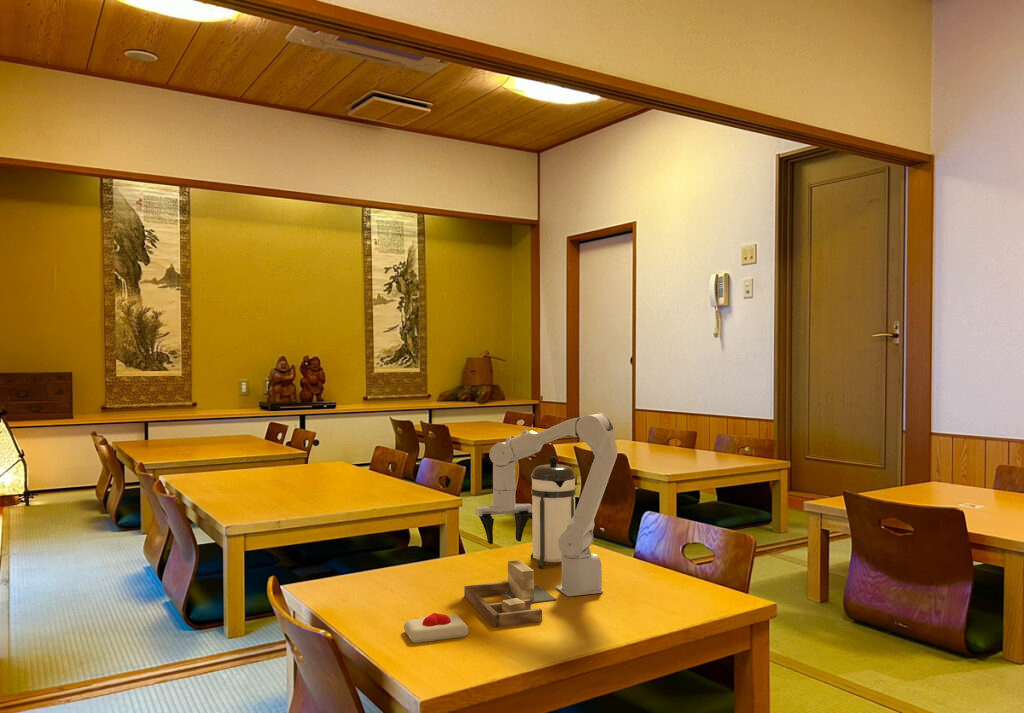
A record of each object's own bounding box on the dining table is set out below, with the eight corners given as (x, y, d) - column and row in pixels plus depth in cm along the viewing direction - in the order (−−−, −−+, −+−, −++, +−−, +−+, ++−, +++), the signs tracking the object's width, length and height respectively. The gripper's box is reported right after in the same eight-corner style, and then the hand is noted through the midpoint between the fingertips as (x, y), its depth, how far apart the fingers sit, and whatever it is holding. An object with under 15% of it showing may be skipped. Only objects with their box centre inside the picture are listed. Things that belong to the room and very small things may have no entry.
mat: (537, 586, 193) (537, 585, 193) (556, 600, 182) (556, 599, 182) (503, 590, 190) (503, 588, 190) (520, 604, 179) (520, 603, 179)
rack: (507, 591, 189) (507, 581, 189) (542, 621, 167) (542, 609, 167) (464, 596, 185) (464, 586, 185) (494, 627, 164) (494, 615, 164)
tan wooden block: (519, 588, 191) (519, 560, 191) (534, 600, 181) (533, 570, 181) (508, 589, 190) (507, 561, 190) (522, 601, 180) (522, 571, 180)
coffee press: (592, 560, 218) (592, 455, 218) (560, 572, 206) (560, 460, 206) (543, 551, 229) (542, 450, 229) (509, 562, 216) (509, 456, 217)
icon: (456, 603, 168) (469, 617, 158) (456, 623, 167) (469, 638, 158) (401, 609, 163) (411, 624, 154) (401, 630, 163) (411, 646, 154)
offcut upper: (517, 606, 172) (516, 597, 172) (525, 611, 169) (525, 602, 169) (502, 609, 170) (501, 600, 170) (510, 614, 167) (510, 605, 167)
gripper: (525, 484, 203) (525, 536, 203) (472, 488, 198) (472, 540, 198) (534, 489, 196) (535, 542, 196) (480, 492, 191) (481, 547, 191)
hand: (504, 542), depth 197 cm, fingers open, 7 cm apart
